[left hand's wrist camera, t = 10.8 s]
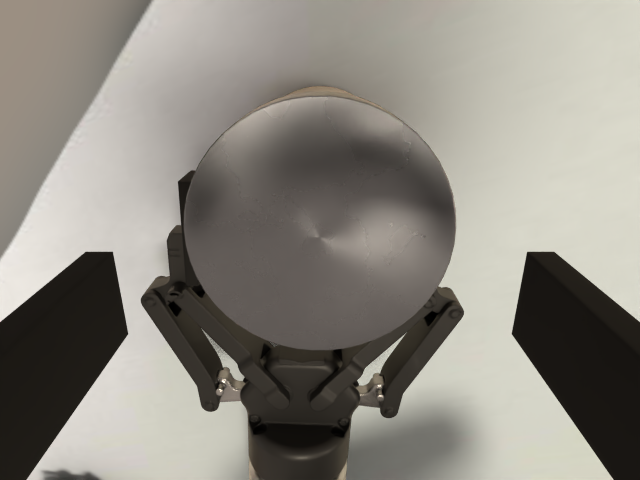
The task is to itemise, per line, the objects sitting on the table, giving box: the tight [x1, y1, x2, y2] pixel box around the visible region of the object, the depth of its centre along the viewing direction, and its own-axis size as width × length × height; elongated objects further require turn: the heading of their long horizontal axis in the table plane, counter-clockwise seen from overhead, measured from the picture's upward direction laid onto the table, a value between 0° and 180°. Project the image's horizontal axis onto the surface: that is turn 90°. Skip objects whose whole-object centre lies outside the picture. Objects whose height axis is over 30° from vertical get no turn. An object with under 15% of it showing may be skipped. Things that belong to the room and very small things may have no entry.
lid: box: [184, 91, 456, 350], centre depth 18 cm, size 10×10×2 cm
